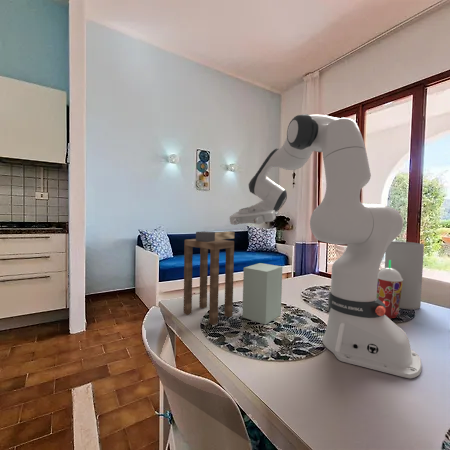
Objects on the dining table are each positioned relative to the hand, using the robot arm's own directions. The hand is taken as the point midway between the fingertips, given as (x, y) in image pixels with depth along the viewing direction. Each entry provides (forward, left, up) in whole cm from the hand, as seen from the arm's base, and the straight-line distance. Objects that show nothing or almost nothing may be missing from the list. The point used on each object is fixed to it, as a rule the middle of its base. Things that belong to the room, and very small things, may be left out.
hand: (244, 222), depth 105 cm
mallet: (+1, +16, -6) cm, 17 cm away
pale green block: (-14, +9, -32) cm, 36 cm away
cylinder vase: (-51, -38, -32) cm, 72 cm away
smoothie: (-48, -21, -32) cm, 62 cm away
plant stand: (+1, +21, -32) cm, 38 cm away
